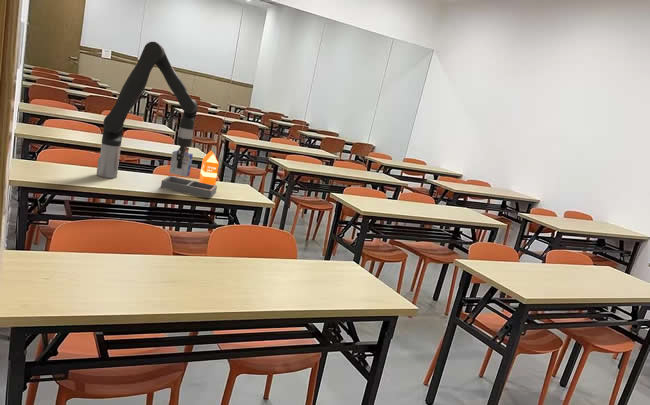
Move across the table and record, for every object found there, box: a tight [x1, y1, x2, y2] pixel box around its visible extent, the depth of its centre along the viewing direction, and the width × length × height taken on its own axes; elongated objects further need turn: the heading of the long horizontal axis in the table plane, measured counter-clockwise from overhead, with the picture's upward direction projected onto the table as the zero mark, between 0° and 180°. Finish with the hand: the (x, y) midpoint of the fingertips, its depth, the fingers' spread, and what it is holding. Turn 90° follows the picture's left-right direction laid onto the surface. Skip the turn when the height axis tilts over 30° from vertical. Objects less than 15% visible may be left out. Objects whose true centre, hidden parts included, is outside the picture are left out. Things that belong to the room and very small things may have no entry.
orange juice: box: [198, 150, 219, 185], centre depth 283 cm, size 8×9×20 cm
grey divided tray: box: [160, 175, 218, 199], centre depth 265 cm, size 27×14×4 cm, turn 91°
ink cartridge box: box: [168, 150, 194, 178], centre depth 262 cm, size 10×6×14 cm, turn 89°
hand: (180, 167), depth 263 cm, fingers closed on ink cartridge box, 5 cm apart
